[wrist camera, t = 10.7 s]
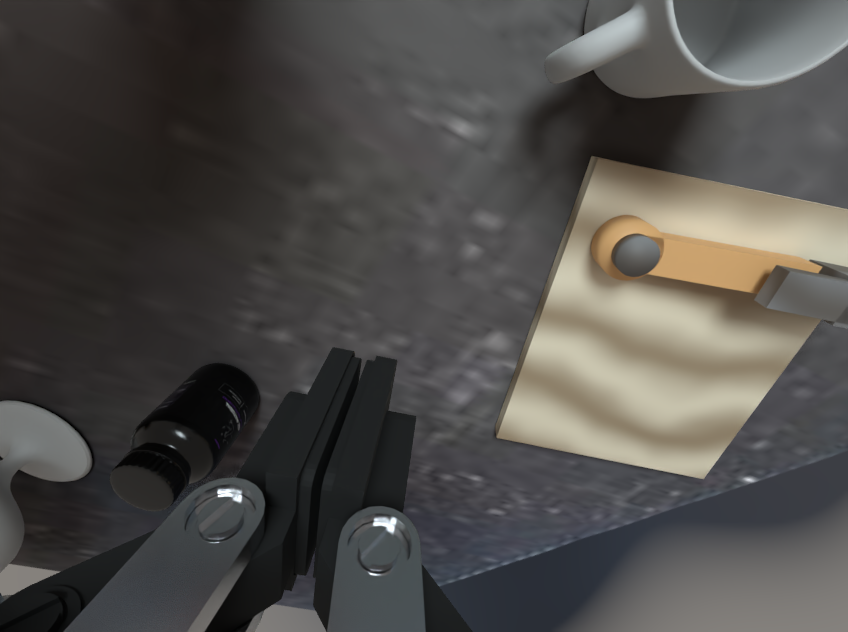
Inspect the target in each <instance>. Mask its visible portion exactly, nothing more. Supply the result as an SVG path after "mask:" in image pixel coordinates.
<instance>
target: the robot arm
mask: <svg viewBox="0 0 848 632" xmlns="http://www.w3.org/2000/svg"><path fill="white" fill-rule="evenodd" d="M396 365H397V360H395V359H390V358H385V357H380V356H376V359H375V361H371V360H367V362H366V364H365V367H364V370H363V373H362V375H361V378H360V381H359V375H360V368H361V358H356V357H355V352H354V351H350V350H345V349H340V348H335V347H333V348H332V350H331V351H330V353H329V355H328V357H327V359H326V361H325V363H324V364H323V366H322V368H321V370H320V372H319V374H318V376H317V377H316V379H315V381H314V383H313V385H312V387H311V389H310V391H309V392H308V394H307V395H306V394H301V393H296V392H289V393H288V394H287V395H286V397H285V398H284V400H283V401H282V403H281V405H280V406H279V408H278V410H277V411H276V413H275V415H274V416H273V418H272V419H271V421H270V423H269V424H268V426H267V428H266V429H265V431H264V433H263V434H262V436H261V438H260V439H259V441H258V442H257V444H256V446H255V447H254V449H253V451H252V452H251V454H250V456H249V457H248V459H247V461H246V462H245V464H244V465H243V467H242V469H241V470H240V472H239V474H238V475H237V477H236V478H235V477H234V478H221V479H218V480H214V481H211V482H208V483H206V484H204V485H202V486H201V487H199V488H197V489H195V490H194V491H193V492H192V493H191V494H189V495H188V496H187V497H186V498H185V499H184V500H183V501H182V502H181V503H180V504H179V505H178V506H177V507H176V509H175V510H174V511H173V512H172V513H171V514H170V515H169V516H168V517H167V518H166V520H165V521H164V522H163V523H162V524H161V525H160V526H159V527H158V528H157V529H156V530H154V531H152V532H149V533H147V534H145V535H143V536H140V537H138V538H136V539H134V540H131V541H129V542H127V543H125V544H122V545H120V546H118V547H116V548H113V549H111V550H109V551H107V552H104V553H102V554H100V555H98V556H95V557H93V558H91V559H89V560H86V561H84V562H82V563H80V564H77V565H75V566H73V567H71V568H68V569H66V570H64V571H62V572H59V573H57V574H55V575H53V576H50V577H48V578H46V579H44V580H42V581H39V582H38V583H35V584H32V585H30V586H29V587H27V588H25V589H23V590H21V591H20V592H17V593H16V594H14V595H7V596H2V595H1V593H0V632H255V630H256V628H257V626H258V624H259V622H260V620H261V618H262V615H263V612H264V610H265V609H266V608H268V607H270V606H271V605H273V604H274V603H276V602H277V601H279V600H280V599H281V598H282V595H283V592H284V590H290V591H292V588H293V585H294V582H295V579H296V577H297V574H299V575H304V576H306V574H307V572H308V569H309V566H310V563H311V560H312V557H313V554H314V551H315V548H316V551H315V562H314V573H313V577H314V578H316V582H315V592H314V602H313V606H314V608H315V610H316V612H317V614H318V616H319V618H320V620H321V622H322V624H323V625H324V627H325V629H326V632H472V630H471V629H470V628H469V626H468V625H467V624H466V622H465V621H464V620H463V618H462V617H461V616H460V614H459V613H458V612H457V610H456V609H455V608H454V606H453V605H452V604H451V602H450V601H449V600H448V598H447V597H446V596H445V594H444V593H443V592H442V590H441V589H440V588H439V586H438V585H437V584H436V582H435V581H434V580H433V578H432V577H431V576H430V574H429V573H428V572H427V570H426V569H425V568H424V566H423V565H422V563H421V546H420V540H419V536H418V532H417V530H416V528H415V527H414V525H413V523H412V522H411V521H410V520H409V519H408V518H407V517H406V516H405V515H404V514H403V507H404V500H405V493H406V486H407V479H408V472H409V465H410V458H411V451H412V444H413V437H414V430H415V422H416V416H412V415H407V414H402V413H397V412H392V411H388V409H389V404H390V398H391V393H392V387H393V382H394V376H395V371H396Z"/></svg>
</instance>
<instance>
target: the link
mask: <svg viewBox="0 0 848 632" xmlns="http://www.w3.org/2000/svg"><path fill="white" fill-rule="evenodd" d="M635 233H639V234H643V235H646V236H647V237H649V238H650V239H652V240H653V241H654V242H656V243H657V245H658V246H659V249H660V258H659V261H658V263H657V265H656V266H655V267H654V268H653V269H652V270H651V271H650V272H649V273H647V274H650V275H655V276H661V277H666V278H672V279H677V280H683V281H689V282H694V283H700V284H705V285H711V286H716V287H722V288H727V289H733V290H739V291H744V292H750V293H755V294H758V293H759V291H760V290H761V288H762V287H763V285H764V283H765V282H766V280H767V279H768V277H769V275H770V274H771V272H772V271H773V269H774V268H775V266H776V265H780V266H785V267H789V268H794V269H799V270H804V271H809V272H814V273H819V271H820V270H821V268H822V267H821V266H819V265H817V264H814V263H812V262H810V261H807V260H805V259H803V258H801V257H797V256H791V255H786V254H780V253H775V252H769V251H763V250H758V249H752V248H747V247H741V246H736V245H730V244H725V243H719V242H713V241H708V240H702V239H697V238H691V237H686V236H680V235H675V234H669V233H663V232H659V230H658V229H657V228H655V227H654V226H652V225H651V224H649V223H647V222H646V221H644V220H642V219H641V218H639V217H636V216H633V215H621V216H617V217H614V218H612V219H610V220H608V221H606V222H605V223H604V224H603V225H602V226H601V227H600V228H599V229H598V230H597V231H596V233H595V235H594V237H593V240H592V244H591V251H592V255H593V258H594V259H595V261H596V262H597V263H598V264H599V266H600V267H601V268H602V269H603V270H604V271H605V272H606V273H607V274H608V275H609V276H611V277H612V278H615V279H618V280H623V281H628V280H634V279H638V278H641V277H643V276H645V275H646V274H645V275H642V276H639V277H630V276H626V275H624V274H623V273H621V272H620V271H619V270H618V269H617V268H616V267H615V265H614V264H613V262H612V258H611V255H612V250H613V248H614V246H615V244H616V243H617V242H618V241H619V240H620V239H621V238H623V237H625V236H627V235H629V234H635Z"/></svg>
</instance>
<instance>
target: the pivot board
mask: <svg viewBox="0 0 848 632" xmlns="http://www.w3.org/2000/svg"><path fill="white" fill-rule="evenodd" d="M621 215H633V216H636V217H639V218H641V219H642V220H644V221H646V222H647V223H649V224H651V225H652V226H654V227H655V228H657V229H658V230H659V232H663V233H669V234H675V235H680V236H686V237H691V238H697V239H702V240H708V241H713V242H719V243H725V244H730V245H736V246H741V247H747V248H752V249H758V250H763V251H769V252H775V253H780V254H786V255H791V256H797V257H801V258H803V259H805V260H807V261H810V262H812V263H814V264H817V265H819V266H821V267H822V268H821V270H820V271H819V273H814V272H809V271H804V270H799V269H794V268H789V267H785V266H780V265H776V266H775V268H774V269H773V271H772V272H771V274H770V275H769V277H768V279H767V280H766V282H765V283H764V285H763V287H762V288H761V290H760V291H759V293H758V294H755V293H750V292H744V291H739V290H733V289H727V288H722V287H716V286H711V285H705V284H700V283H694V282H689V281H683V280H677V279H672V278H666V277H661V276H655V275H650V274H647V273H649V272H650V271H651V270H652V269H653V268H654V267H655V266H656V265H657V263H658V261H659V258H660V249H659V246H658V245H657V243H656V242H654V241H653V240H652V239H650V238H649V237H647V236H646V235H643V234H639V233H635V234H629V235H627V236H625V237H623V238H621V239H620V240H619V241H618V242H617V243H616V244H615V246H614V248H613V250H612V255H611V258H612V262H613V264H614V265H615V267H616V268H617V269H618V270H619V271H620V272H621V273H623V274H624V275H626V276H630V277H639V276H642V275H645V274H646V275H645V276H643V277H641V278H638V279H634V280H628V281H623V280H618V279H615V278H612V277H611V276H609V275H608V274H607V273H606V272H605V271H604V270H603V269H602V268H601V267H600V266H599V264H598V263H597V262H596V261H595V259H594V258H593V255H592V251H591V244H592V240H593V237H594V235H595V233H596V231H597V230H598V229H599V228H600V227H601V226H602V225H603V224H604V223H605V222H606V221H608V220H610V219H612V218H614V217H617V216H621ZM821 319H822V320H824V321H826V322H827V323H829V324H831V325H833V326H838V327H842V328H847V329H848V209H843V208H839V207H834V206H829V205H824V204H819V203H815V202H810V201H805V200H800V199H796V198H791V197H786V196H781V195H776V194H772V193H767V192H762V191H757V190H752V189H748V188H743V187H738V186H733V185H728V184H724V183H719V182H714V181H709V180H705V179H700V178H695V177H690V176H685V175H681V174H676V173H671V172H666V171H661V170H657V169H652V168H647V167H642V166H638V165H633V164H628V163H623V162H618V161H614V160H609V159H604V158H599V157H594V156H591V159H590V162H589V165H588V167H587V170H586V173H585V176H584V179H583V182H582V184H581V187H580V190H579V193H578V196H577V198H576V201H575V204H574V207H573V210H572V212H571V215H570V218H569V221H568V224H567V226H566V229H565V232H564V235H563V238H562V240H561V243H560V246H559V249H558V252H557V255H556V257H555V260H554V263H553V266H552V269H551V271H550V274H549V277H548V280H547V283H546V285H545V288H544V291H543V294H542V297H541V299H540V302H539V305H538V308H537V311H536V313H535V316H534V319H533V322H532V325H531V328H530V330H529V333H528V336H527V339H526V342H525V344H524V347H523V350H522V353H521V356H520V358H519V361H518V364H517V367H516V370H515V372H514V375H513V378H512V381H511V384H510V386H509V389H508V392H507V395H506V398H505V401H504V403H503V406H502V409H501V412H500V415H499V417H498V420H497V423H496V426H495V429H496V438H501V439H506V440H511V441H516V442H521V443H526V444H531V445H536V446H541V447H546V448H551V449H556V450H561V451H566V452H571V453H576V454H581V455H586V456H591V457H596V458H601V459H606V460H611V461H616V462H621V463H626V464H631V465H636V466H641V467H646V468H651V469H656V470H661V471H666V472H671V473H676V474H681V475H686V476H691V477H696V478H701V479H704V477H705V476H706V475H707V473H708V472H709V471H710V469H711V468H712V467H713V465H714V464H715V463H716V461H717V460H718V458H719V457H720V456H721V454H722V453H723V452H724V450H725V449H726V448H727V446H728V445H729V444H730V442H731V441H732V440H733V438H734V437H735V436H736V434H737V433H738V431H739V430H740V429H741V427H742V426H743V425H744V423H745V422H746V421H747V419H748V418H749V417H750V415H751V414H752V413H753V411H754V410H755V408H756V407H757V406H758V404H759V403H760V402H761V400H762V399H763V398H764V396H765V395H766V394H767V392H768V391H769V390H770V388H771V387H772V386H773V384H774V383H775V381H776V380H777V379H778V377H779V376H780V375H781V373H782V372H783V371H784V369H785V368H786V367H787V365H788V364H789V363H790V361H791V360H792V358H793V357H794V356H795V354H796V353H797V352H798V350H799V349H800V348H801V346H802V345H803V344H804V342H805V341H806V340H807V338H808V337H809V336H810V334H811V333H812V331H813V330H814V329H815V327H816V326H817V325H818V323H819V322H820V321H821Z"/></svg>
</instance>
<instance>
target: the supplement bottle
mask: <svg viewBox="0 0 848 632" xmlns="http://www.w3.org/2000/svg"><path fill="white" fill-rule="evenodd" d="M258 404H259V393H258V390H257V387H256V385H255V383H254V382H253V381H252V379H251V378H250V377H249V376H248V375H247V374H246V373H244V372H243V371H241V370H240V369H238V368H236V367H234V366H231V365H228V364H222V363H213V364H208V365H205V366H203V367H201V368H199V369H198V370H197V371H195V372H194V373H193V374H192V375H191V376H190V377H189V378H188V379H187V380H186V381H184V382H183V383H182V384H181V385H180V386H179V387H178V388H177V389H176V390H175V391H174V392H173V393H172V394H171V395H170V396H169V397H168V398H166V399H165V400H164V401H163V402H162V403H161V404H160V405H159V406H158V407H157V408H156V409H155V410H154V411H153V412H152V413H151V414H150V415H148V416H147V417H146V418H145V419H144V420H143V421H142V422H141V423H140V424H139V425H138V426H137V428H136V429H135V431H134V433H133V435H132V438H131V451H130V452H129V453H127V454H126V455H125V457H124V458H123V460H122V461H121V462H120V463H119V464H118V465H117V466H116V467H115V468H114V469H113V470H112V473H111V474H110V479H109V480H110V484H111V485H112V488H113V490H114V491H115V493H116V494H118V496H119V497H120V498H122V499H123V500H124V501H125V502H127V503H128V504H130V505H133V506H134V507H137V508H140V509H144V510H147V511H160V510H164V509H167V508H168V507H169V506H171V505H172V504H173V503H174V502H175V500H176V499H177V498H178V496H179V495H180V494H181V493H182V492H183V491H184V490H185V488H186V487H187V486H188V485H190V484H194V483H197V482H199V481H201V480H203V479H205V478H206V477H208V476H209V475H210V474H211V473H212V472H213V470H214V469H215V468H216V466H217V465H218V464H219V462H220V461H221V459H222V458H223V457H224V455H225V454H226V452H227V451H228V449H229V448H230V447H231V445H232V444H233V442H234V441H235V440H236V438H237V437H238V435H239V434H240V433H241V431H242V430H243V428H244V427H245V425H246V424H247V423H248V421H249V420H250V418H251V417H252V415H253V414H254V412H255V411H256V409H257V407H258Z"/></svg>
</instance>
